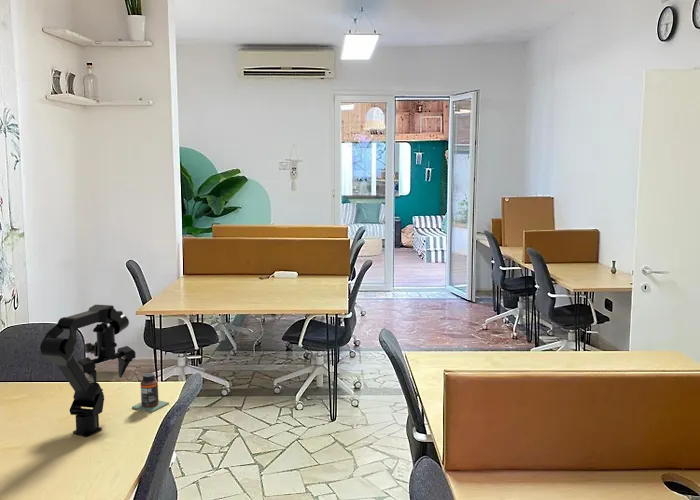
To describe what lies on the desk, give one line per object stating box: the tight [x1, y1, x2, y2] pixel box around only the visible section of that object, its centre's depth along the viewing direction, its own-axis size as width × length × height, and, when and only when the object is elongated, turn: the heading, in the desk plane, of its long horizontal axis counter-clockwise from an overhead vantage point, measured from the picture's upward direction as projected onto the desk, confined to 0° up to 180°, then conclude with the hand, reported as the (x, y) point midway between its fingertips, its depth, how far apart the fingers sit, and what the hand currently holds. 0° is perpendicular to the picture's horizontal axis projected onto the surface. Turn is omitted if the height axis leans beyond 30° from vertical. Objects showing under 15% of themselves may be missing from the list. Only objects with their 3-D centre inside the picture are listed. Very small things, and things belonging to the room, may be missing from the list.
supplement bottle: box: [140, 372, 160, 407], centre depth 229 cm, size 6×6×11 cm
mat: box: [131, 399, 170, 414], centre depth 230 cm, size 9×9×1 cm
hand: (107, 381), depth 221 cm, fingers open, 9 cm apart
